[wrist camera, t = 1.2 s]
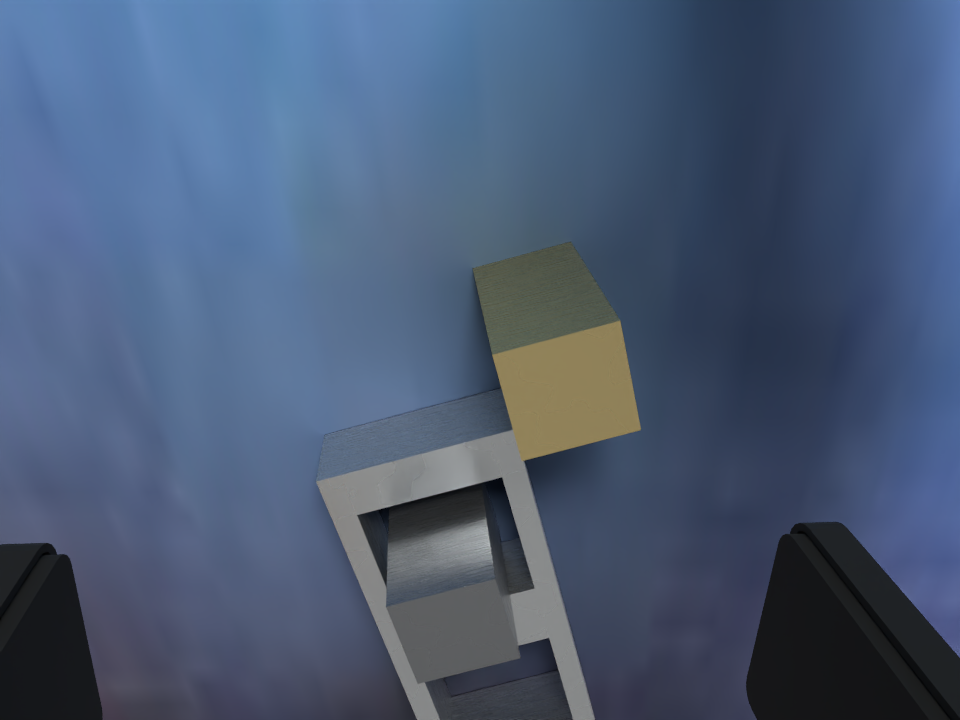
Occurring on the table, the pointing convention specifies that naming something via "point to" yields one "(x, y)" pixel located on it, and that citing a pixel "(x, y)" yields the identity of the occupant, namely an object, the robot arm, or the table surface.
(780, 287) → the table surface
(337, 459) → the grey block holder tray
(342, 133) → the table surface
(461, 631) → the seated steel block
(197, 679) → the table surface
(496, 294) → the brass block
